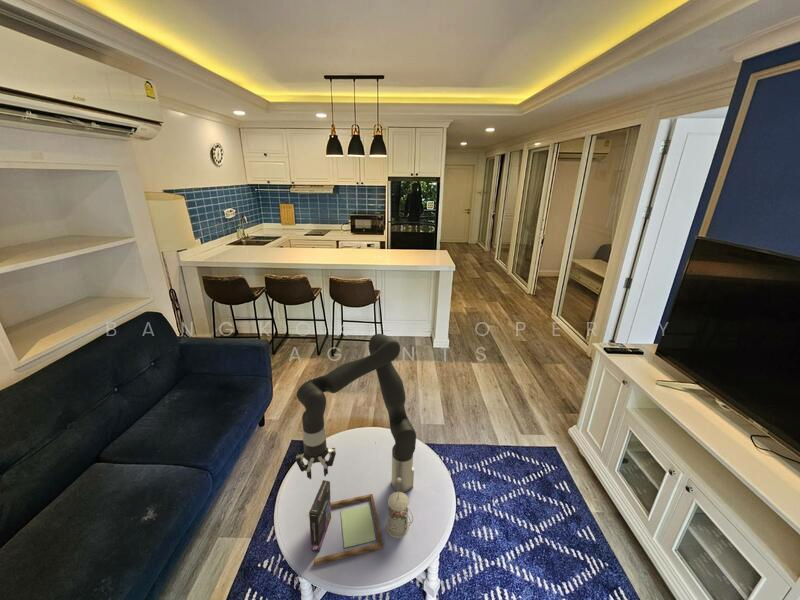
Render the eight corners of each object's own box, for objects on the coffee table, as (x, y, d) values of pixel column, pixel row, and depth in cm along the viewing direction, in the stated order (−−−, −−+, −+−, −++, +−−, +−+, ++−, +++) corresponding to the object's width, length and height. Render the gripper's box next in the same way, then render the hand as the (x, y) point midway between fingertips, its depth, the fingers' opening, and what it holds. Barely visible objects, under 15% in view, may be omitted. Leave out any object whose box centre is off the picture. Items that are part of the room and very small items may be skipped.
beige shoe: (396, 510, 136) (397, 463, 128) (418, 528, 130) (421, 479, 122) (380, 528, 129) (380, 479, 121) (403, 547, 122) (404, 497, 114)
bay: (372, 497, 142) (372, 493, 141) (382, 548, 122) (382, 544, 121) (313, 509, 136) (313, 506, 135) (314, 565, 116) (313, 562, 115)
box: (320, 552, 120) (317, 513, 114) (311, 551, 120) (307, 512, 114) (332, 517, 133) (330, 480, 127) (324, 515, 134) (321, 479, 127)
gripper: (335, 426, 117) (337, 464, 122) (293, 433, 113) (297, 471, 119) (336, 441, 110) (338, 480, 116) (292, 449, 107) (296, 488, 112)
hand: (317, 475), depth 117 cm, fingers open, 4 cm apart
